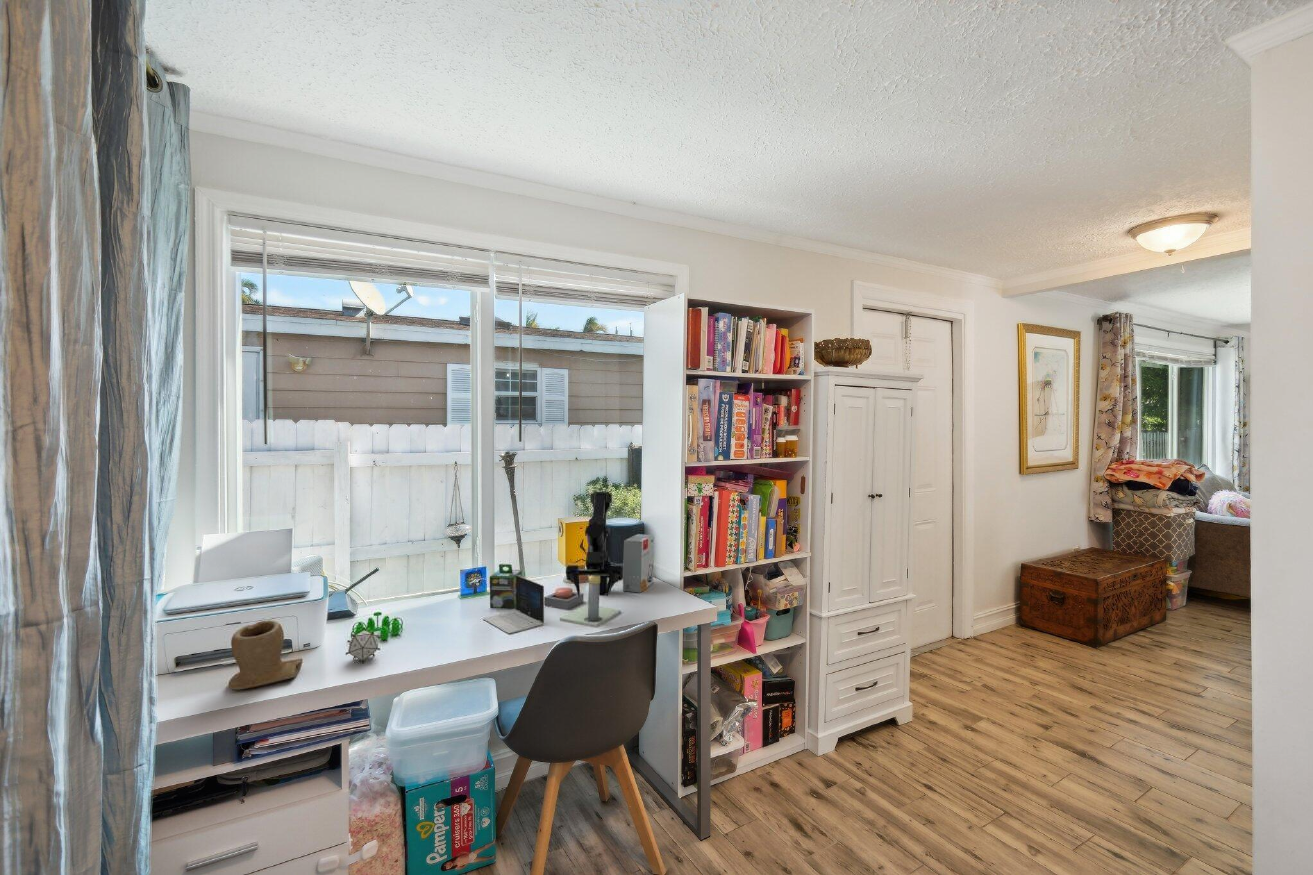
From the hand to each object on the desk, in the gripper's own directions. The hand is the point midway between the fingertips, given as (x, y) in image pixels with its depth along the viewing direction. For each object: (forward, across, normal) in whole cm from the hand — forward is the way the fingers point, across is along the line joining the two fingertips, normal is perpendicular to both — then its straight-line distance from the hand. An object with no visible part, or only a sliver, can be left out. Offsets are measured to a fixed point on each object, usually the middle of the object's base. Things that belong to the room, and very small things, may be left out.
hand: (592, 595), depth 183 cm
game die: (+26, -60, -13) cm, 67 cm away
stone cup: (+36, -78, -22) cm, 88 cm away
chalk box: (-8, -33, +21) cm, 39 cm away
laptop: (+6, -26, +8) cm, 28 cm away
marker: (+5, 0, +7) cm, 8 cm away
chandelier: (+13, -65, 0) cm, 66 cm away
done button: (-10, -12, +19) cm, 24 cm away
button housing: (-8, -12, +21) cm, 25 cm away
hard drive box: (-22, +15, +36) cm, 45 cm away
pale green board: (+2, -1, +11) cm, 11 cm away
